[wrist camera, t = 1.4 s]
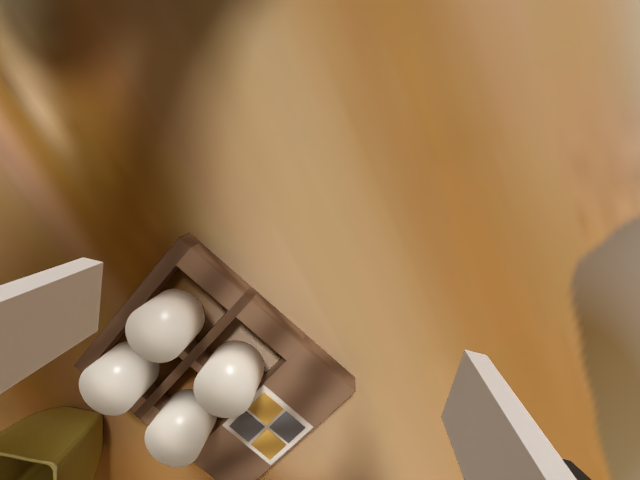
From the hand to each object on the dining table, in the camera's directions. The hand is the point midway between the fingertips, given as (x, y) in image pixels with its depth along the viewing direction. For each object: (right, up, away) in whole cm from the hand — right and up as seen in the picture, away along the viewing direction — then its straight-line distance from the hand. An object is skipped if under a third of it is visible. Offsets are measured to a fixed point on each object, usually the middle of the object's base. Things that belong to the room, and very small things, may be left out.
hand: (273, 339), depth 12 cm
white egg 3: (-7, -9, +23) cm, 26 cm away
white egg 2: (-13, -4, +23) cm, 26 cm away
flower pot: (-28, -20, +31) cm, 46 cm away
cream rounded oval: (-12, -15, +25) cm, 32 cm away
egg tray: (-10, -11, +27) cm, 31 cm away
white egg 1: (-18, -10, +24) cm, 32 cm away
